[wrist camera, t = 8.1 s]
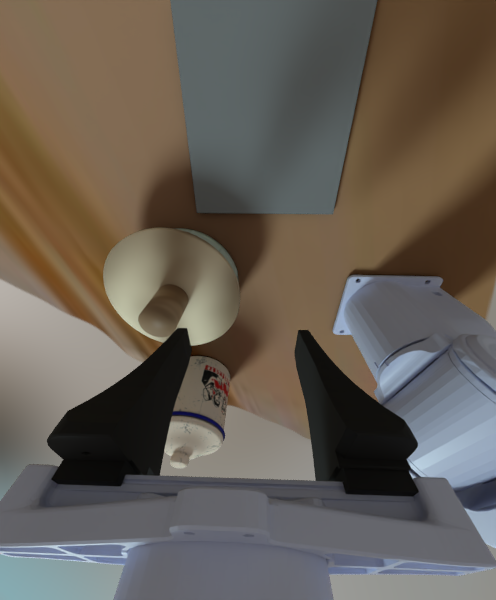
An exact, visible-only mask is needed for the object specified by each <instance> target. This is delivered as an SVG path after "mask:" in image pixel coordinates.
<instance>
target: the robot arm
mask: <svg viewBox="0 0 496 600" xmlns="http://www.w3.org/2000/svg"><path fill="white" fill-rule="evenodd" d="M357 279H359V280H358V281H356V280H357ZM427 280H428V281H427ZM426 281H427V282H426ZM442 282H443V279H442V278H441V277H438V276H386V275H351V276H349V277H348V279H347V282H346V285H345V289H344V292H343V296H342V299H341V303H340V306H339V310H338V313H337V317H336V320H335V323H334V327H333V333H334V334H340V335H352V336H353V338H354V340H355V342H356V344H357V346H358V348H359V349H360V351H361V353H362V355H363V357H364V359H365V361H366V363H367V365H368V366H369V368H370V370H371V372H372V374H373V376H374V378H375V380H376V382H377V383H378V386H377V389H376V390H375V391H374V393H375V395H376V397H377V399H378V401H379V403H378V402H377V401H376V400H374V399H373V398H372V397H370V396H369V395H368V394H367V393H365V392H364V391H363V390H362V389H360V388H359V387H358V386H357V385H356V384H354V383H353V382H352V381H351V380H350V379H349V378H348V377H347V376H346V375H345V374H344V373H343V372H342V371H341V370H340V369H339V368H338V367H337V366H336V365H335V364H334V363H333V362H332V360H331V359H330V358H329V357H328V356H327V354H326V353H325V352H324V351H323V350H322V348H321V347H320V346H319V344H318V343H317V342H316V340H315V339H314V337H313V336H312V335H311V333H310V332H309V331H308V330H298V335H297V341H296V347H295V360H296V367H297V371H298V375H299V379H300V383H301V387H302V391H303V395H304V399H305V403H306V408H307V415H308V421H309V428H310V435H311V443H312V450H313V458H314V468H315V477H316V481H304V480H274V479H271V480H270V479H244V478H242V479H241V478H212V477H184V476H160V470H161V465H162V459H163V454H164V449H165V444H166V440H167V435H168V431H169V426H170V422H171V418H172V414H173V410H174V406H175V402H176V399H177V396H178V393H179V390H180V388H181V385H182V382H183V379H184V376H185V374H186V371H187V368H188V365H189V361H190V356H191V352H192V349H191V344H190V339H189V335H188V330H187V328H177V329H176V330H175V331H174V332H173V333H172V334H171V336H170V337H169V338H168V339H167V340H166V341H165V342H164V343H163V344H162V345H161V346H160V347H159V348H158V349H157V350H156V351H155V352H154V353H153V354H152V355H151V356H150V357H149V358H148V359H146V360H145V361H144V362H143V363H142V364H141V365H140V366H138V367H137V368H136V369H135V370H133V371H132V372H131V373H130V374H128V375H127V376H126V377H124V378H123V379H121V380H120V381H118V382H117V383H116V384H114V385H113V386H111V387H110V388H108V389H106V390H105V391H103V392H102V393H100V394H98V395H97V396H95V397H93V398H91V399H90V400H88V401H86V402H84V403H83V404H80V405H78V406H77V407H75V408H73V409H71V410H69V411H68V412H67V413H66V414H65V415H64V417H63V418H62V419H61V421H60V422H59V423H58V425H57V426H56V427H55V429H54V430H53V432H52V433H51V434H50V436H49V437H48V439H47V443H48V446H49V447H50V448H51V449H52V450H53V451H54V452H55V453H57V454H58V455H59V456H60V457H61V458H62V459H64V460H63V461H62V463H61V464H60V466H59V467H57V466H53V465H39V464H29V465H27V466H26V467H25V469H24V470H23V471H22V473H21V474H20V475H19V477H18V478H17V479H16V481H15V482H14V484H13V485H12V486H11V487H10V489H9V490H8V492H7V493H6V494H5V496H4V497H3V498H2V500H1V501H0V554H2V555H6V556H9V557H26V558H43V559H57V560H70V561H81V562H93V563H105V564H117V565H124V568H123V572H122V575H121V578H120V581H119V584H118V587H117V590H116V594H115V597H114V600H333V594H332V589H331V583H330V577H329V574H409V575H410V574H416V575H450V576H460V575H465V574H470V573H475V572H480V571H484V570H489V569H494V568H496V560H495V559H494V557H493V555H492V554H491V552H490V551H489V549H488V547H487V545H486V544H488V545H490V546H492V547H494V548H496V331H495V330H494V328H493V327H492V326H491V325H490V324H489V323H488V322H487V321H486V320H485V319H484V318H482V317H481V316H479V315H478V314H476V313H475V312H474V311H472V310H471V309H469V308H468V307H467V306H465V305H464V304H462V303H461V302H460V301H458V300H457V299H455V298H454V297H452V296H451V295H450V294H448V293H447V292H445V291H444V290H443V289H441V288H440V286H441V284H442ZM341 330H342V331H341ZM485 543H486V544H485Z"/></svg>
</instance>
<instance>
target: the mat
mask: <svg viewBox="0 0 496 600" xmlns="http://www.w3.org/2000/svg"><path fill="white" fill-rule="evenodd" d="M170 1H171V9H172V17H173V25H174V33H175V41H176V49H177V57H178V65H179V73H180V81H181V89H182V97H183V105H184V113H185V121H186V129H187V137H188V145H189V153H190V161H191V169H192V177H193V185H194V193H195V201H196V209H197V213H254V214H333V211H334V207H335V202H336V197H337V192H338V187H339V182H340V178H341V173H342V168H343V163H344V158H345V154H346V149H347V144H348V139H349V134H350V129H351V125H352V120H353V115H354V110H355V105H356V101H357V96H358V91H359V86H360V81H361V76H362V72H363V67H364V62H365V57H366V52H367V48H368V43H369V38H370V33H371V28H372V23H373V19H374V14H375V9H376V4H377V0H170Z"/></svg>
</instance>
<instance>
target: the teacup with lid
mask: <svg viewBox="0 0 496 600" xmlns="http://www.w3.org/2000/svg"><path fill="white" fill-rule="evenodd" d="M229 385H230V374H229V371H228V370H227V368H226V367H225V366H224V365H223V364H222V363H220V362H219V361H217V360H215V359H212V358H209V357H204V356H191V357H190V361H189V365H188V368H187V371H186V374H185V376H184V379H183V382H182V385H181V388H180V390H179V393H178V396H177V399H176V402H175V406H174V410H173V414H172V418H171V422H170V426H169V431H168V435H167V440H166V444H165V449H164V451H165V452H166V453H167V454H168V455H170V456H171V459H170V463H171V465H172V466H173V467H175V468H185V467H186V466H187V465H188V463H189V459H194V458H197V457H199V456H203V455H208V454H211V453H213V452H215V451H217V450H218V449H219V448H220V446H221V445H222V443H223V441H224V438H225V433H224V423H225V416H226V407H227V400H228V393H229Z"/></svg>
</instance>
